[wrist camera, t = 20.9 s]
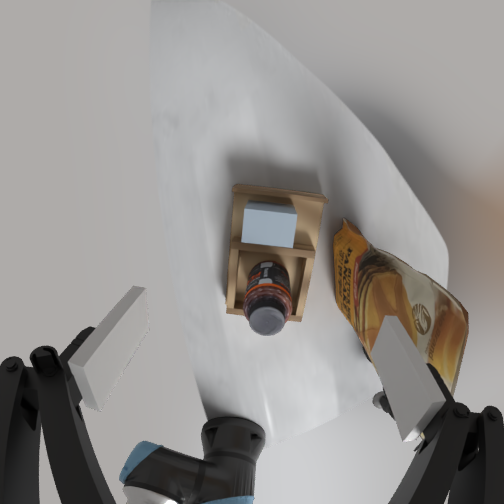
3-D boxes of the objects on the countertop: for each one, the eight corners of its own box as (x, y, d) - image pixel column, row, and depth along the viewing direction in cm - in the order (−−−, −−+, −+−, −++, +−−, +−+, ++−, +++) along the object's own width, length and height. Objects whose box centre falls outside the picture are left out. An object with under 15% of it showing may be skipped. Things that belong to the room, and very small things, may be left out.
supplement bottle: (255, 253, 40) (249, 291, 30) (295, 266, 40) (302, 307, 30) (243, 289, 42) (233, 334, 32) (281, 300, 43) (282, 348, 32)
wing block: (289, 233, 39) (292, 248, 33) (245, 228, 39) (241, 242, 33) (293, 204, 38) (297, 214, 32) (248, 199, 38) (244, 208, 32)
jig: (302, 308, 44) (304, 322, 41) (226, 299, 45) (222, 312, 41) (322, 194, 38) (328, 199, 34) (236, 183, 39) (232, 187, 35)
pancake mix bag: (371, 204, 38) (503, 297, 12) (372, 317, 44) (434, 455, 18) (327, 209, 39) (418, 322, 13) (334, 323, 45) (374, 474, 19)
